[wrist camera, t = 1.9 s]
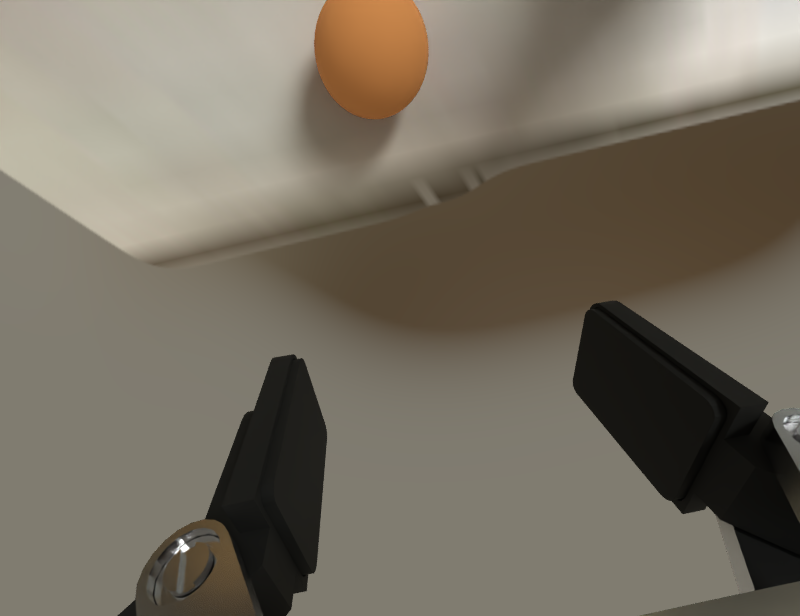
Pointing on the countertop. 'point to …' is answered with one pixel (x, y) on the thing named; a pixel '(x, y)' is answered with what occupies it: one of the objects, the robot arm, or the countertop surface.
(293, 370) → the robot arm
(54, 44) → the countertop surface
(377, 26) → the ball
